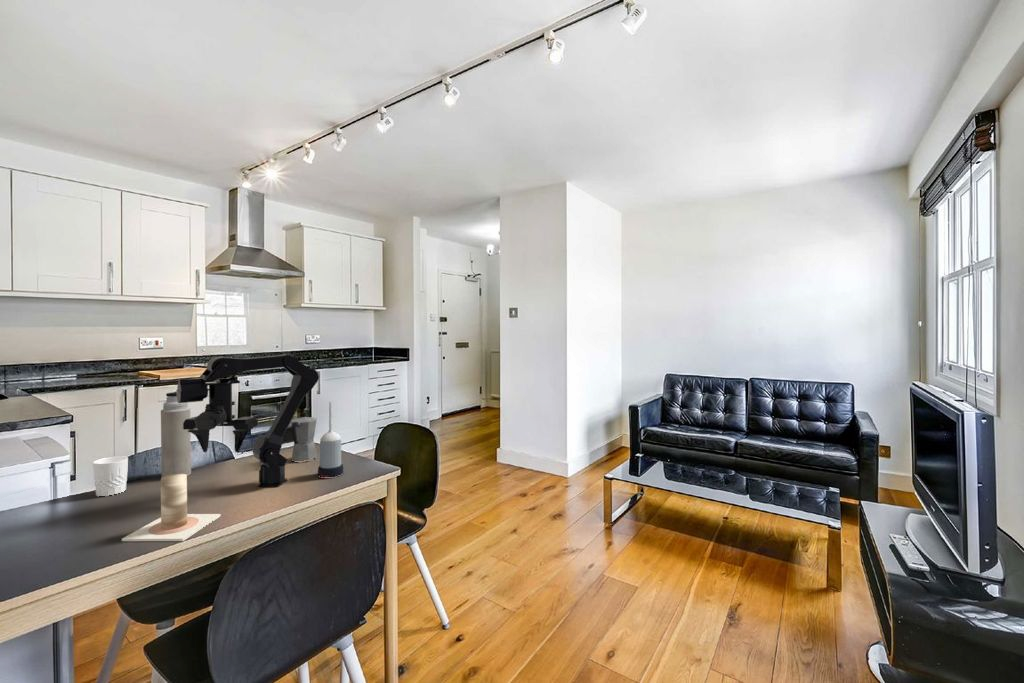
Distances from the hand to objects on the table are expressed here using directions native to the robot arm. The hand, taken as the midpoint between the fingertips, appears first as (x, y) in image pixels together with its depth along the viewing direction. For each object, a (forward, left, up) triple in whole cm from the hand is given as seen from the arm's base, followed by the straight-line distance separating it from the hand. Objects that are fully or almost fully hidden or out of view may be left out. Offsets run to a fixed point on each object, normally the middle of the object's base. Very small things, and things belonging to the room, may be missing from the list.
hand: (221, 451), depth 133 cm
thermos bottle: (+26, -18, -13) cm, 35 cm away
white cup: (+34, -2, -13) cm, 37 cm away
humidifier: (-25, -19, -13) cm, 34 cm away
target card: (-2, +22, -13) cm, 26 cm away
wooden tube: (-2, +22, -12) cm, 25 cm away
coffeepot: (-8, -36, -13) cm, 39 cm away
